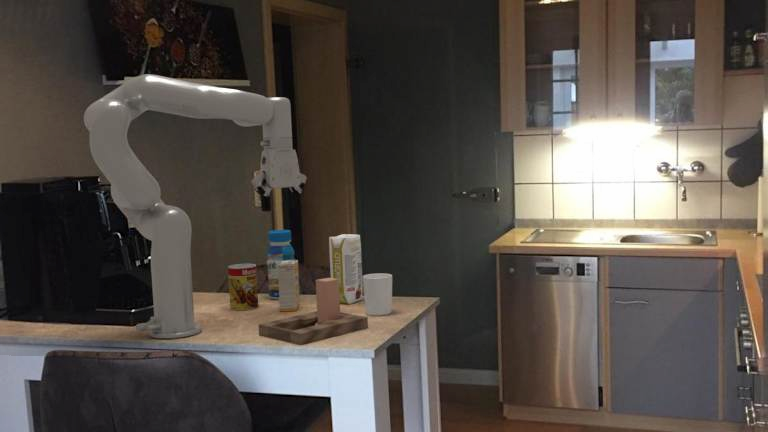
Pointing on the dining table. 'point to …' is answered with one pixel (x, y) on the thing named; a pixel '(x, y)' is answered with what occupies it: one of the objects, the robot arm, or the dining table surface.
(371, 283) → the white cup
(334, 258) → the juice carton
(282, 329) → the keyhole plate
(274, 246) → the beverage bottle
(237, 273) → the canned food
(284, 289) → the supplement box
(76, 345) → the dining table surface
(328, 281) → the footed peg
